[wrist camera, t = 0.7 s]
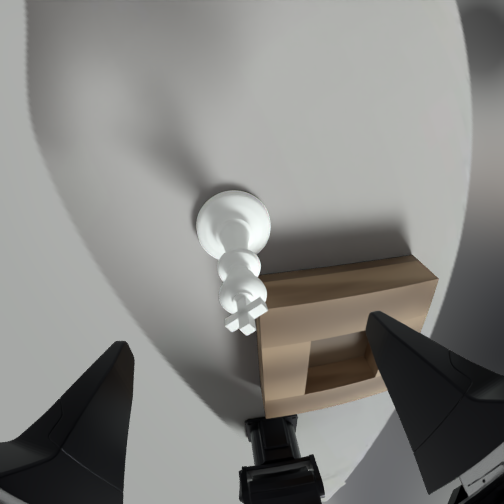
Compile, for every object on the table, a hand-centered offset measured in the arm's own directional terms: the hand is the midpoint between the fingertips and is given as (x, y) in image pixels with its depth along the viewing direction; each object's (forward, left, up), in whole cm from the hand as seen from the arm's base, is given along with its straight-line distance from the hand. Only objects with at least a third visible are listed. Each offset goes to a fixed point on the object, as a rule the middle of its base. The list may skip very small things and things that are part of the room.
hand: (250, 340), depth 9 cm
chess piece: (0, 0, -11) cm, 11 cm away
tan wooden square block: (-11, -8, -10) cm, 17 cm away
